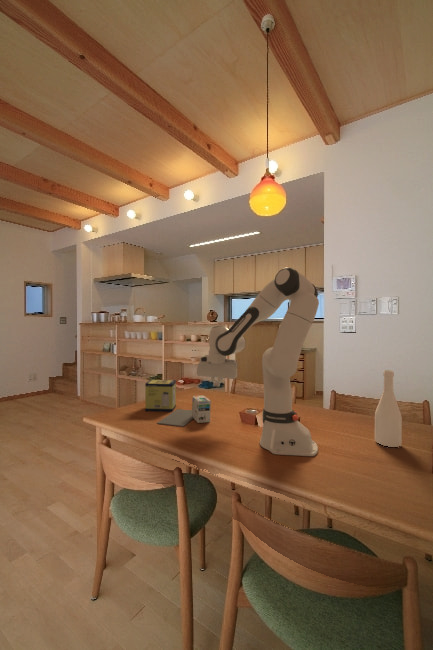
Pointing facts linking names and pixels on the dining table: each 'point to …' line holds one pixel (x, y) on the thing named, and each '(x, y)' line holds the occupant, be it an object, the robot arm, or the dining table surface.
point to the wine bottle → (388, 415)
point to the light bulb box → (201, 409)
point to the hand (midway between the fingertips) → (216, 386)
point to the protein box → (160, 395)
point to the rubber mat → (177, 418)
